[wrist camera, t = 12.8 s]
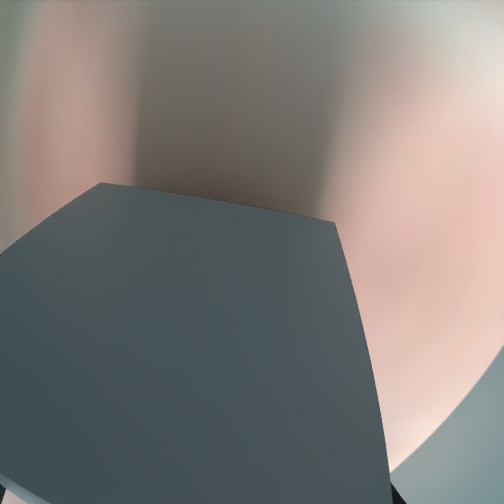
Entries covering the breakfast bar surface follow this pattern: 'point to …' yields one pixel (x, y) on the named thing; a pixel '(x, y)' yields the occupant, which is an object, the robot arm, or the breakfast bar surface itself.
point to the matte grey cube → (184, 358)
